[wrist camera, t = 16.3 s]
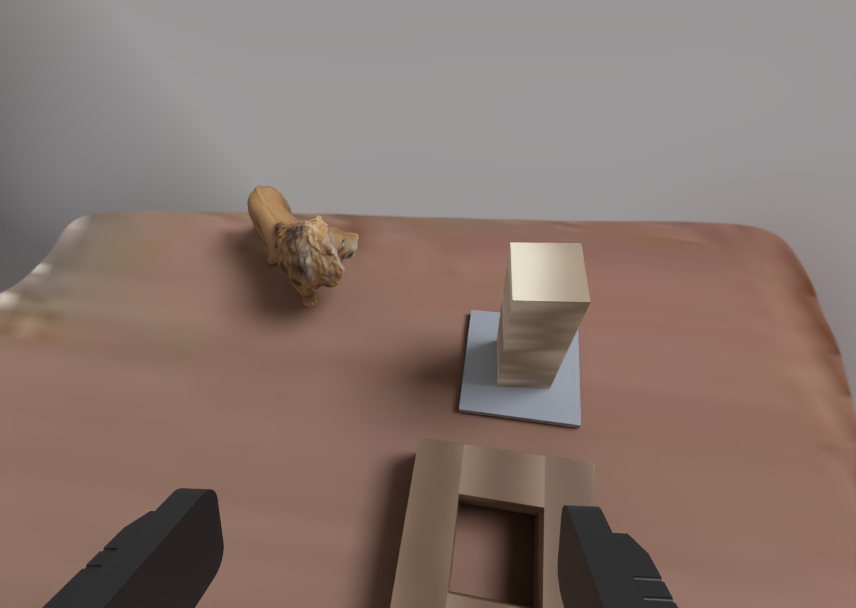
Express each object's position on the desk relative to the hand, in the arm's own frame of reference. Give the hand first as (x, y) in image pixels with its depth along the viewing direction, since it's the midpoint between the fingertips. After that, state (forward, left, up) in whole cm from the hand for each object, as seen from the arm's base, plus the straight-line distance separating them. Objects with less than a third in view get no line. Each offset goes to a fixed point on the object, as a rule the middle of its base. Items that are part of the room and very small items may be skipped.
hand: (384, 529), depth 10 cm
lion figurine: (-14, +20, -18) cm, 30 cm away
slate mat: (+4, +13, -18) cm, 23 cm away
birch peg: (+5, +13, -17) cm, 22 cm away
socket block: (+3, +1, -18) cm, 18 cm away
